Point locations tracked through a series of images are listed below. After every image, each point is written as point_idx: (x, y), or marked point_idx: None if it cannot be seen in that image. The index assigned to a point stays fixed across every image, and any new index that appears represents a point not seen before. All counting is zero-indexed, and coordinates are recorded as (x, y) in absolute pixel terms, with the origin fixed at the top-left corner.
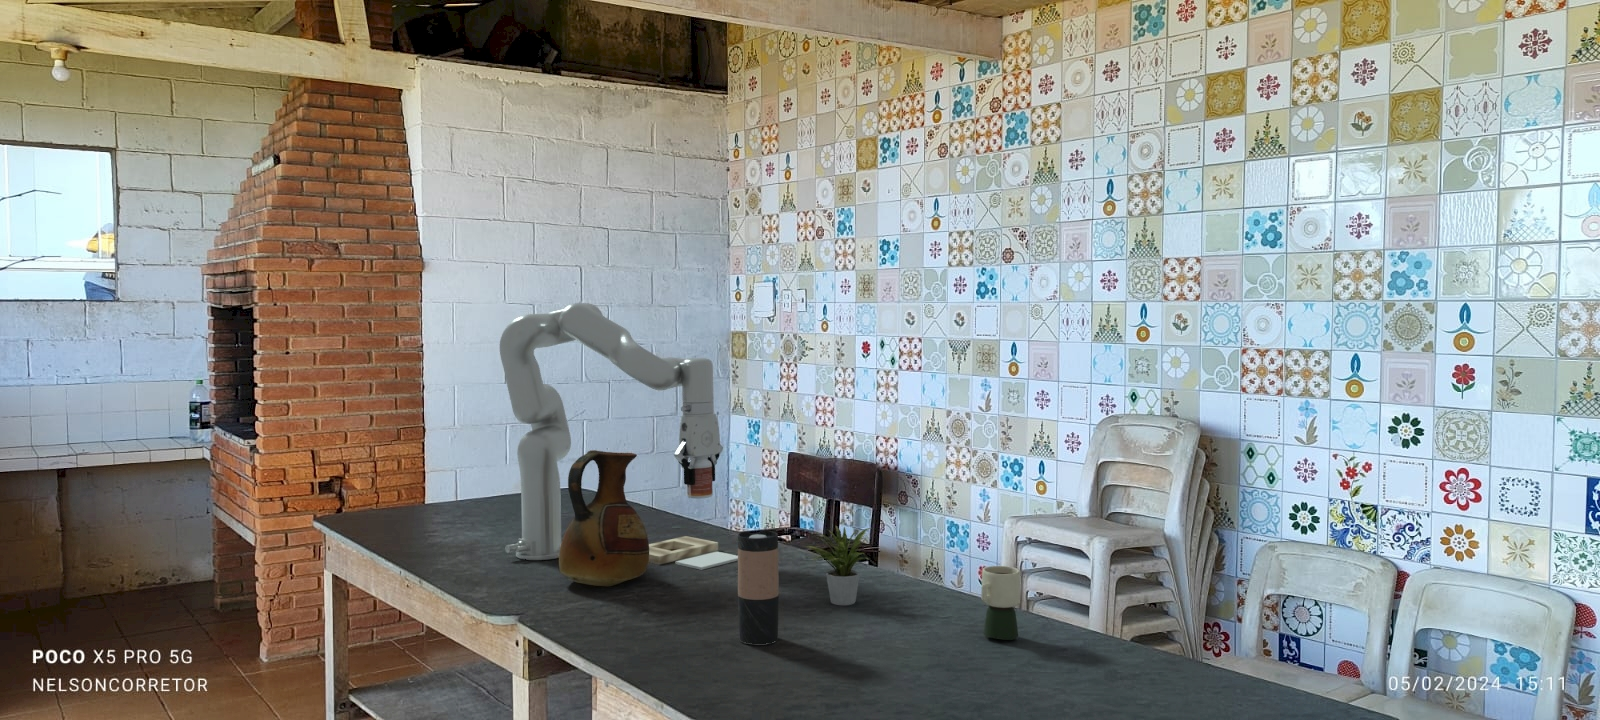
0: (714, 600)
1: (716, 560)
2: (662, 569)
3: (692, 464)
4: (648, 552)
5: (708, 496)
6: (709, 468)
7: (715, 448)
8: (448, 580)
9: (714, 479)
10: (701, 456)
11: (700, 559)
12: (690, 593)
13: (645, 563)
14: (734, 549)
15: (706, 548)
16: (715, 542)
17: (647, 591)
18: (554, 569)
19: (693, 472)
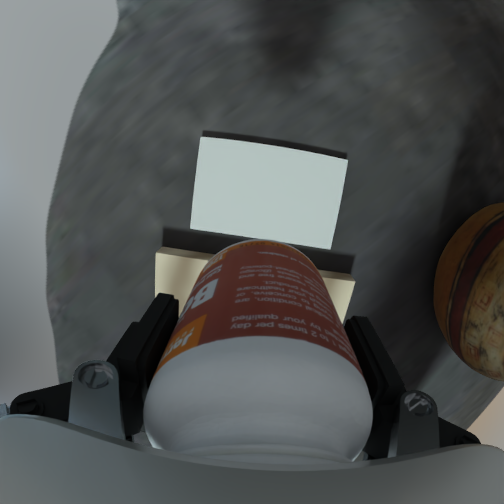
0: (479, 42)
1: (270, 168)
2: (380, 241)
3: (411, 417)
4: (499, 214)
5: (272, 240)
6: (256, 327)
7: (57, 493)
8: (480, 408)
9: (164, 296)
10: (380, 460)
11: (283, 210)
12: (478, 92)
13: (498, 204)
14: (133, 220)
15: (198, 256)
16: (159, 258)
17: (497, 168)
18: (428, 380)
19: (390, 365)
